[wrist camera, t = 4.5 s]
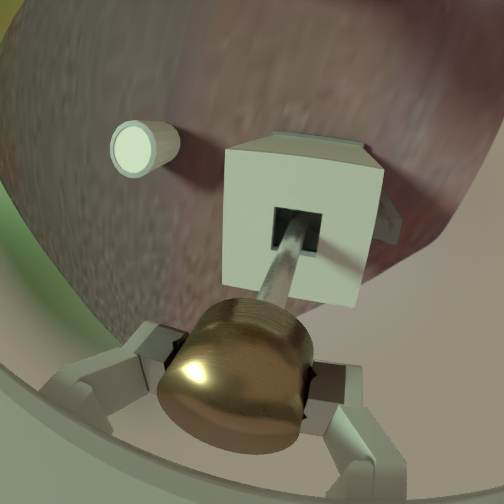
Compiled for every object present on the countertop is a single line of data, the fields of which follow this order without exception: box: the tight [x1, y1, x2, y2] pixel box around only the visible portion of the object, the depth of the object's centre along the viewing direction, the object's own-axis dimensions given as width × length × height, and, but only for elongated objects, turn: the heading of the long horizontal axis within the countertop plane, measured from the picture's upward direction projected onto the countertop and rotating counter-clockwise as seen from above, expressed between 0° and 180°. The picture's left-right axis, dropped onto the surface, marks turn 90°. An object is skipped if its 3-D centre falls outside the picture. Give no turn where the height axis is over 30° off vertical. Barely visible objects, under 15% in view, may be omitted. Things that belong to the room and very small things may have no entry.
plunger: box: [157, 207, 322, 455], centre depth 16 cm, size 7×7×20 cm
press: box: [222, 131, 403, 308], centre depth 27 cm, size 13×10×18 cm
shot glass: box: [110, 120, 180, 178], centre depth 34 cm, size 7×7×7 cm
